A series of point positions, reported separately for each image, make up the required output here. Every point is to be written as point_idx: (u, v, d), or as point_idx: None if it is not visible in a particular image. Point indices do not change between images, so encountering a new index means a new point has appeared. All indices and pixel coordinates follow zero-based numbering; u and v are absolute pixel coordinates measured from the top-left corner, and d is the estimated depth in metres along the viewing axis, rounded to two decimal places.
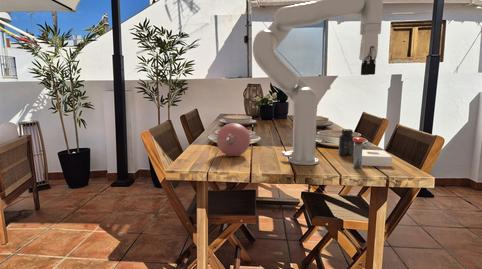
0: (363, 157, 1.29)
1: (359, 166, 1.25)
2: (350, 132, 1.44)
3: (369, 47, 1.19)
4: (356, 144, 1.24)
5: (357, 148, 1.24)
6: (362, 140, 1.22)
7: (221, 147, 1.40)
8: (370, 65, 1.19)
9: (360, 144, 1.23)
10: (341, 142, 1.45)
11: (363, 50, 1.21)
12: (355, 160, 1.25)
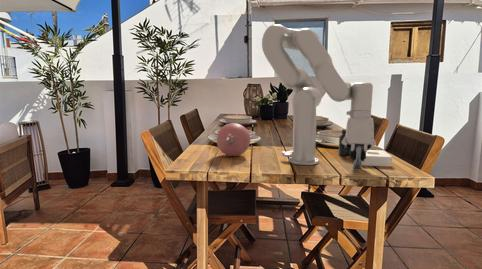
0: None
1: (359, 166, 1.25)
2: None
3: None
4: (356, 144, 1.24)
5: (357, 148, 1.24)
6: None
7: (221, 147, 1.40)
8: None
9: (360, 144, 1.23)
10: None
11: (369, 136, 1.21)
12: (355, 160, 1.25)
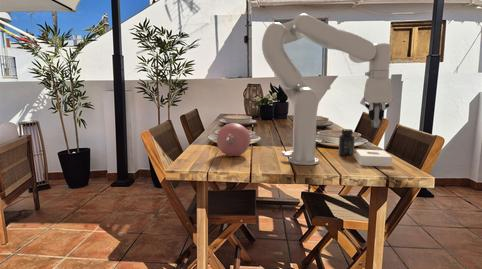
0: (363, 157, 1.29)
1: (377, 125, 1.31)
2: (350, 132, 1.44)
3: None
4: (374, 103, 1.30)
5: (375, 107, 1.29)
6: None
7: (221, 147, 1.40)
8: None
9: (378, 103, 1.29)
10: (341, 142, 1.45)
11: (387, 94, 1.27)
12: (373, 119, 1.31)
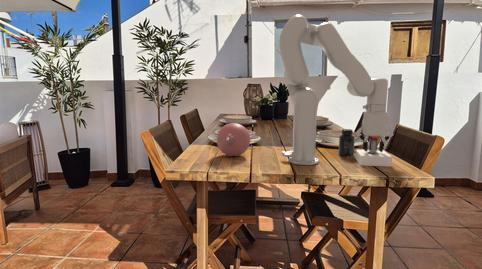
0: (363, 157, 1.29)
1: None
2: (350, 132, 1.44)
3: None
4: (371, 140, 1.32)
5: (372, 144, 1.32)
6: (377, 136, 1.31)
7: (221, 147, 1.40)
8: None
9: (375, 140, 1.32)
10: (341, 142, 1.45)
11: (384, 128, 1.29)
12: None
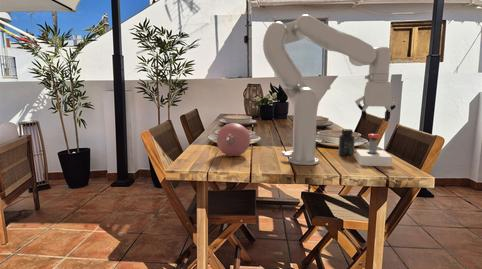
0: (363, 157, 1.29)
1: None
2: (350, 132, 1.44)
3: None
4: (371, 140, 1.32)
5: (372, 144, 1.32)
6: (377, 136, 1.31)
7: (221, 147, 1.40)
8: None
9: (375, 140, 1.32)
10: (341, 142, 1.45)
11: (386, 98, 1.27)
12: None
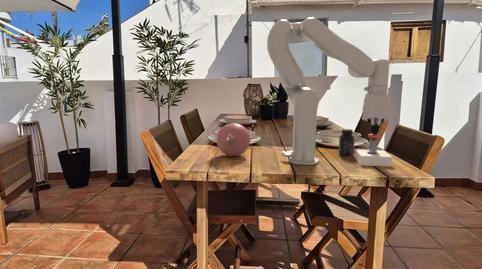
0: (363, 157, 1.29)
1: None
2: (350, 132, 1.44)
3: None
4: (371, 140, 1.32)
5: (372, 144, 1.32)
6: (377, 136, 1.31)
7: (221, 147, 1.40)
8: None
9: (375, 140, 1.32)
10: (341, 142, 1.45)
11: (385, 110, 1.28)
12: None
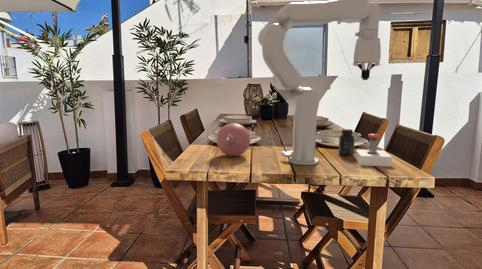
0: (363, 157, 1.29)
1: None
2: (350, 132, 1.44)
3: None
4: (371, 140, 1.32)
5: (372, 144, 1.32)
6: (377, 136, 1.31)
7: (221, 147, 1.40)
8: None
9: (375, 140, 1.32)
10: (341, 142, 1.45)
11: (376, 54, 1.30)
12: None
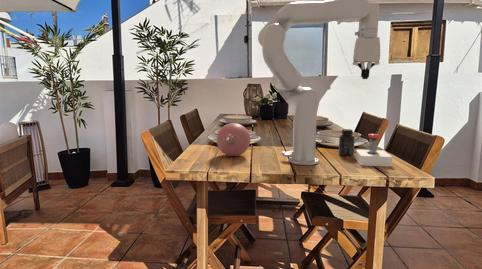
0: (363, 157, 1.29)
1: None
2: (350, 132, 1.44)
3: None
4: (371, 140, 1.32)
5: (372, 144, 1.32)
6: (377, 136, 1.31)
7: (221, 147, 1.40)
8: None
9: (375, 140, 1.32)
10: (341, 142, 1.45)
11: (375, 53, 1.30)
12: None
